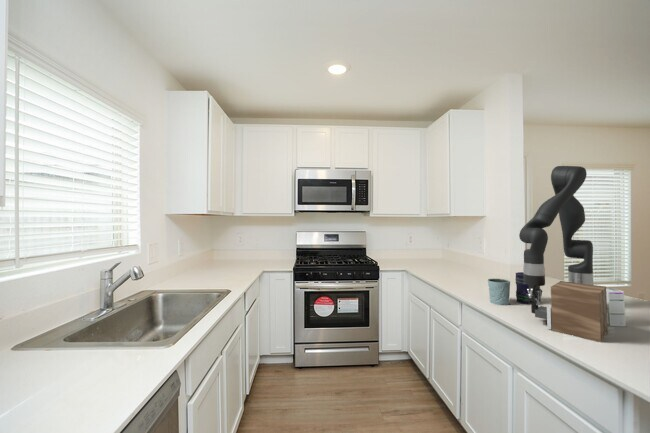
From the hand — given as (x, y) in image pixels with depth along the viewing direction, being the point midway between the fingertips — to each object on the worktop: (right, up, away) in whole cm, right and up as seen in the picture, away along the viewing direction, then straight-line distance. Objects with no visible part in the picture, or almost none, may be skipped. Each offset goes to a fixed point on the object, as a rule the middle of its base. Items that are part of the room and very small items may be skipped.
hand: (535, 313), depth 123 cm
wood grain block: (+9, -3, -12) cm, 15 cm away
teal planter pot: (+1, -4, +27) cm, 27 cm away
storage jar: (+16, -4, +27) cm, 32 cm away
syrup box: (+29, -3, -5) cm, 29 cm away
